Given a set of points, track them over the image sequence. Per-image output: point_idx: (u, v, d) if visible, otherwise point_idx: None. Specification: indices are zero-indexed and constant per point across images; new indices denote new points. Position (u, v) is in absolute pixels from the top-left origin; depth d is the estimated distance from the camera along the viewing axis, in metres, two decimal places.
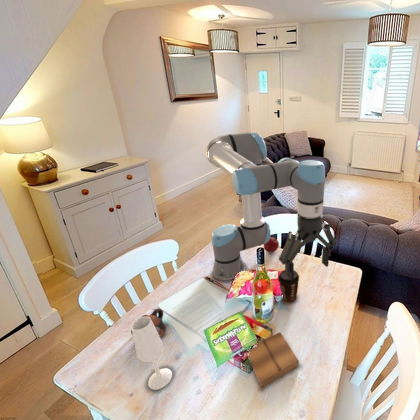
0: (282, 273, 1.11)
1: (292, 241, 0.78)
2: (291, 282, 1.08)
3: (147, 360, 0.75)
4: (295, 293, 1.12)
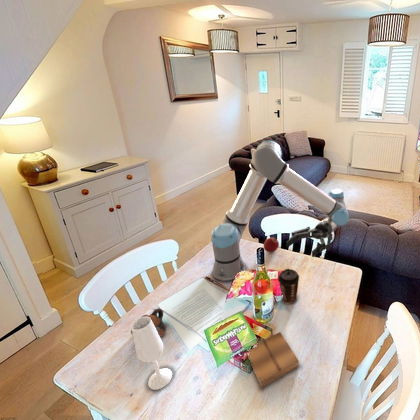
0: (282, 273, 1.11)
1: None
2: (291, 282, 1.08)
3: (147, 360, 0.75)
4: (295, 293, 1.12)
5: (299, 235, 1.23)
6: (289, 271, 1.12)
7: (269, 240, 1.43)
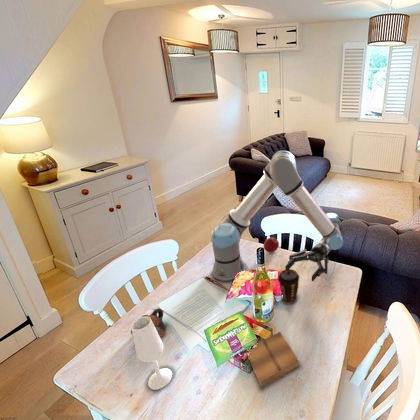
0: (282, 273, 1.11)
1: None
2: (291, 282, 1.08)
3: (147, 360, 0.75)
4: (295, 293, 1.12)
5: (297, 258, 1.27)
6: (289, 271, 1.12)
7: (269, 240, 1.43)
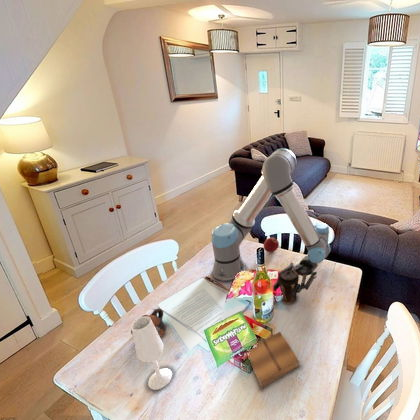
0: (282, 273, 1.11)
1: None
2: (291, 282, 1.08)
3: (147, 360, 0.75)
4: None
5: None
6: (289, 271, 1.12)
7: (269, 240, 1.43)
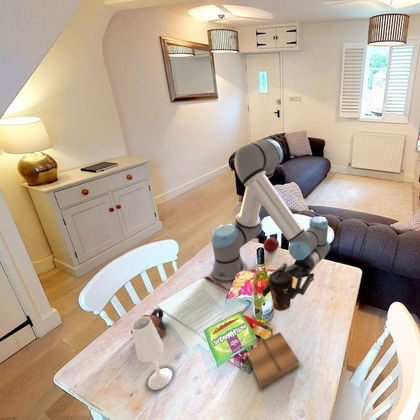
0: (273, 275, 0.93)
1: None
2: (283, 286, 0.90)
3: (147, 360, 0.75)
4: None
5: None
6: (281, 273, 0.95)
7: (269, 240, 1.43)
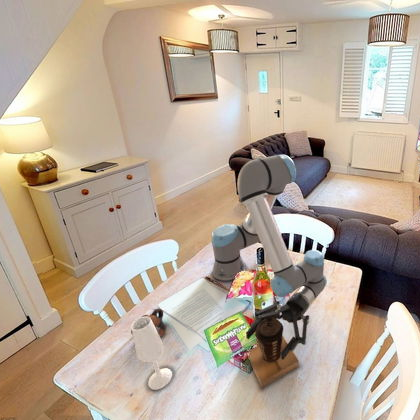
0: (261, 325, 0.83)
1: None
2: (272, 339, 0.80)
3: (147, 360, 0.75)
4: (278, 350, 0.85)
5: (265, 317, 0.92)
6: (270, 321, 0.85)
7: None
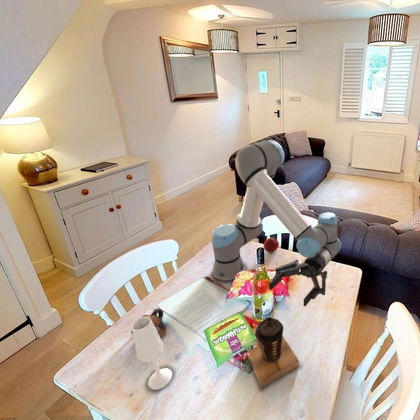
0: (261, 324, 0.83)
1: None
2: (272, 339, 0.80)
3: (147, 360, 0.75)
4: (278, 350, 0.85)
5: (285, 272, 0.97)
6: (270, 321, 0.85)
7: (269, 240, 1.43)
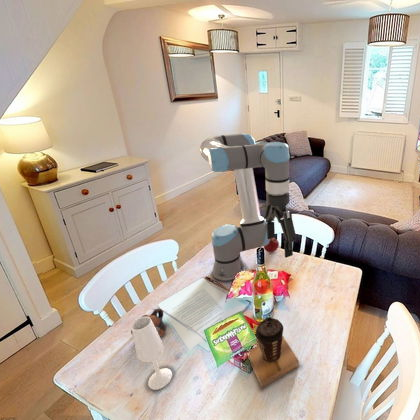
0: (261, 325, 0.83)
1: None
2: (272, 339, 0.80)
3: (147, 360, 0.75)
4: (278, 350, 0.85)
5: (269, 219, 0.97)
6: (270, 321, 0.85)
7: None
